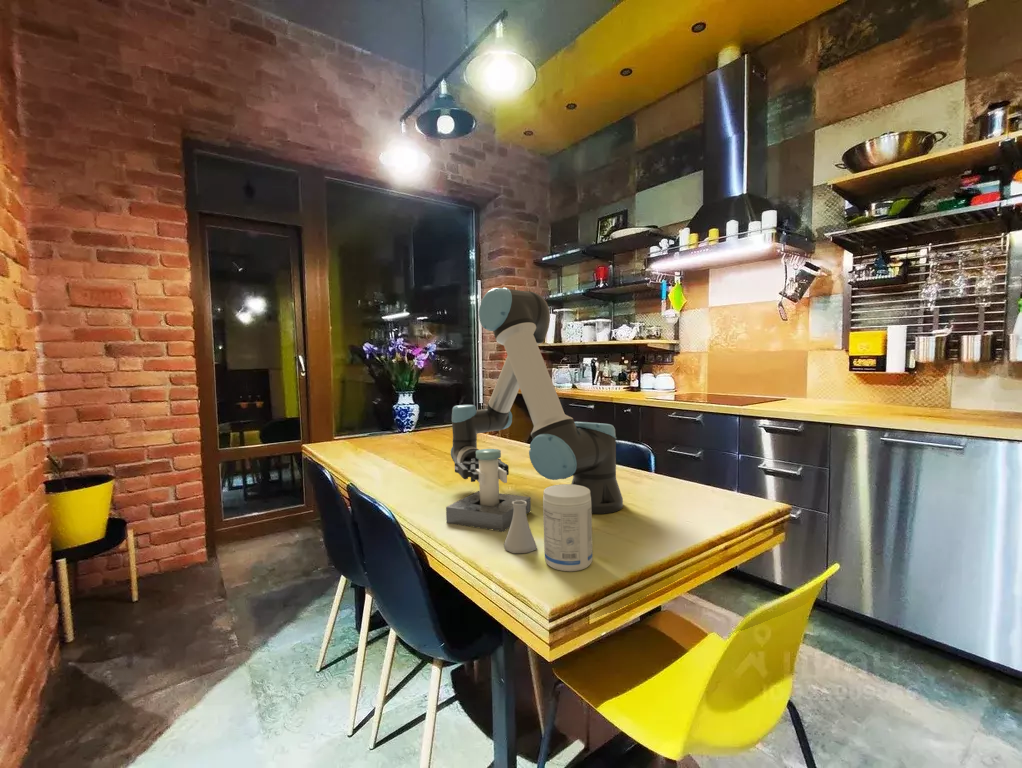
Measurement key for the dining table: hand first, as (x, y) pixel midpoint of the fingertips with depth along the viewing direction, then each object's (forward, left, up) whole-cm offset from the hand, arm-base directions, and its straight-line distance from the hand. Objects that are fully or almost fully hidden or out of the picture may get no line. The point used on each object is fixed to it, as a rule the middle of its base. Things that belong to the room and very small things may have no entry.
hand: (494, 478), depth 118 cm
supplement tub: (-24, +14, -12) cm, 30 cm away
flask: (-12, +11, -12) cm, 20 cm away
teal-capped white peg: (+4, -4, -10) cm, 11 cm away
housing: (+4, -4, -11) cm, 13 cm away
